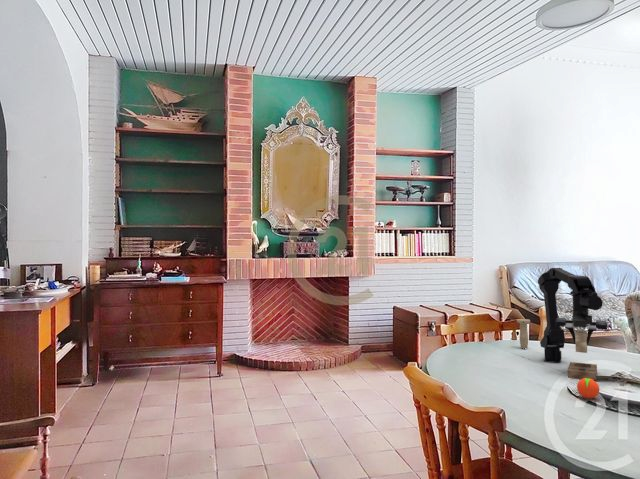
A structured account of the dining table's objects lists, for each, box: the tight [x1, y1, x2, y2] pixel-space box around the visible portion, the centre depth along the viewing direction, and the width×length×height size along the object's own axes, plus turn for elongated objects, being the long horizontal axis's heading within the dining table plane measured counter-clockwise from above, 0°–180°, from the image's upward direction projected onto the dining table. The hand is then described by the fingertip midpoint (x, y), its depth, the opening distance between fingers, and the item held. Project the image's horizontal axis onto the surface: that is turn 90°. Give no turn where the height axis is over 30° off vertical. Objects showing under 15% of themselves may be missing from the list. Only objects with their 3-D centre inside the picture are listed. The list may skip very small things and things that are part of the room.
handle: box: [516, 318, 531, 349], centre depth 242 cm, size 5×6×15 cm
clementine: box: [576, 378, 600, 399], centre depth 165 cm, size 8×7×7 cm
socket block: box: [567, 361, 598, 381], centre depth 194 cm, size 10×15×3 cm, turn 148°
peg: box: [574, 330, 588, 354], centre depth 194 cm, size 4×4×8 cm
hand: (581, 344), depth 194 cm, fingers closed on peg, 4 cm apart
